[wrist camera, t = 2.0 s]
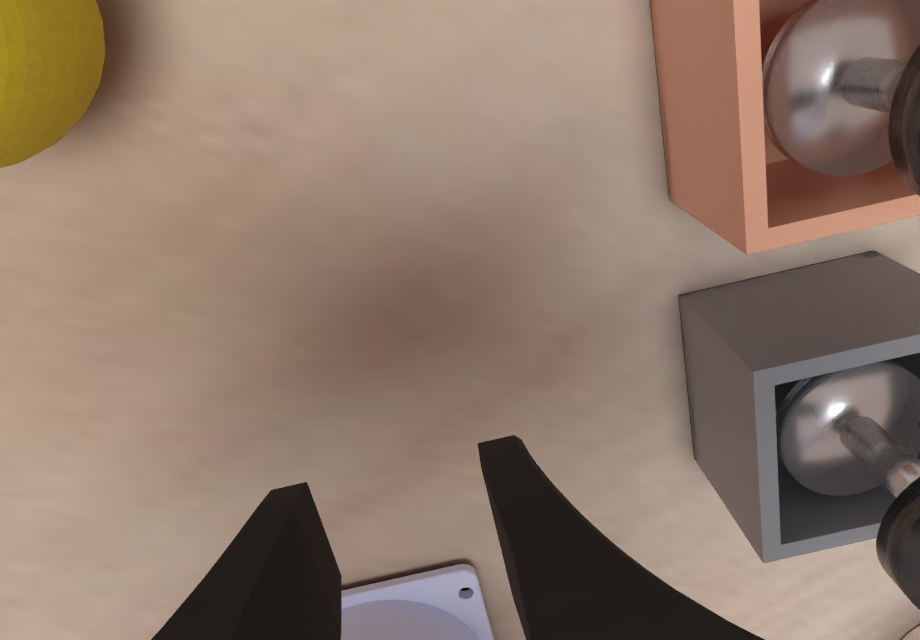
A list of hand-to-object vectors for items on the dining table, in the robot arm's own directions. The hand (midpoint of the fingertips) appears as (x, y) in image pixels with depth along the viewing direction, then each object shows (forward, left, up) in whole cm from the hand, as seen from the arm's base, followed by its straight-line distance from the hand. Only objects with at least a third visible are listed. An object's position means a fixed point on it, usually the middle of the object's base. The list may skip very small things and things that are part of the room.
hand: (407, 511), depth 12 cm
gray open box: (-5, -11, -10) cm, 16 cm away
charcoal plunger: (-5, -11, -6) cm, 14 cm away
